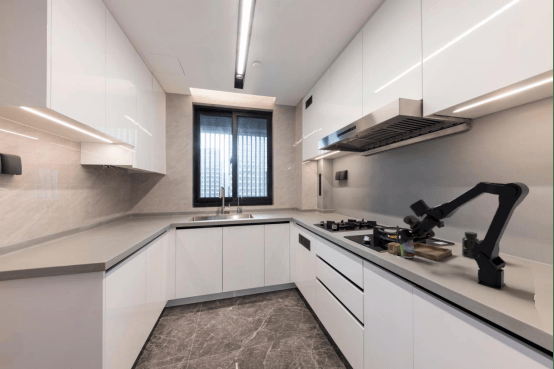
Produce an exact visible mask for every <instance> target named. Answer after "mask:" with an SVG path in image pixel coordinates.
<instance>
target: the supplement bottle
mask: <svg viewBox="0 0 554 369" xmlns="http://www.w3.org/2000/svg"><path fill="white" fill-rule="evenodd" d="M477 241H480V239H479V238H478V233H477V232H474V231H464V236H463V237H462V239H461V255H462V257H465V258H469V259H474V258H473V257H472V252H471V250H472V249H473V247H474V243H475V242H477Z"/></svg>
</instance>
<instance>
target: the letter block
mask: <svg viewBox="0 0 554 369" xmlns="http://www.w3.org/2000/svg"><path fill="white" fill-rule="evenodd" d="M387 253H388V254H391V255H394V256H400V255H401V248H400V244H399V243H398V242H394V241H393V242H389V243H387Z"/></svg>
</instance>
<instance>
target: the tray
mask: <svg viewBox="0 0 554 369" xmlns="http://www.w3.org/2000/svg"><path fill="white" fill-rule="evenodd" d="M413 243H414V252H415V256H414V257H419V258H423V259H426V260H430V261H433V262H434V261H435V262H439V261H441V260H444V259H445V258H448V257H450V256H452V255H453V251H452V249H450V248H445V247H440V246H435V245H431V244H426V243H422V242H419V241H416V242H413Z"/></svg>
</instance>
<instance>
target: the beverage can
mask: <svg viewBox="0 0 554 369" xmlns="http://www.w3.org/2000/svg"><path fill="white" fill-rule="evenodd" d="M398 237H399V239H400V235H399V236H398ZM414 243H415V242H413V240H412V241H410V242H408V243H404V244H400V248H401V254H400V256H401V257H403V258H406V259H407V258H408V259H412V258H414V257H416V256H415V252H414Z"/></svg>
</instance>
